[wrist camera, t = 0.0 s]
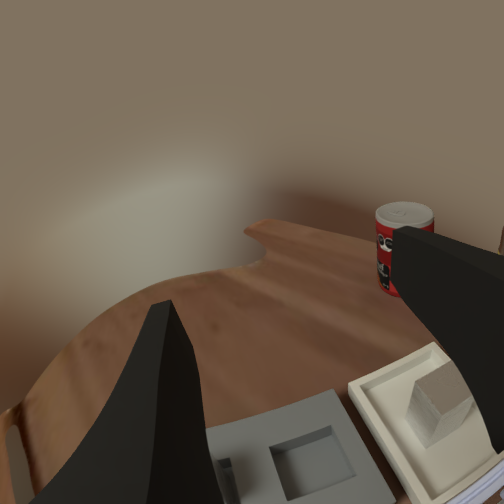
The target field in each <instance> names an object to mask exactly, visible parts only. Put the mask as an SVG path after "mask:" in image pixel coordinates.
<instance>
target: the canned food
mask: <svg viewBox="0 0 504 504" xmlns="http://www.w3.org/2000/svg"><path fill="white" fill-rule="evenodd" d="M406 225H407V226H412V227H416V228H420V229H423V230H426V231H430V232H433V233H434V213H433V211H432V210H431V209H430V208H429V207H427V206H425V205H422V204H418V203H414V202H394V203H389V204H386V205H383V206H381V207H379V208H378V209H377V211H376V238H377V273H378V282H379V285H380V287H381V288H382V290H383V291H385V292H386V293H388V294H390V295H392V296H396V297H401V296H400V295H399V294H398V292H397V291H396V289H395V287H394V286H393V284H392V283H391V281H390V268H391V252H392V230H394V229H397V228H400V227H403V226H406Z"/></svg>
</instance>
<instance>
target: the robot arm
mask: <svg viewBox="0 0 504 504" xmlns="http://www.w3.org/2000/svg"><path fill="white" fill-rule="evenodd" d="M390 281H391V283H392V284H393V286H394V287H395V289H396V291H397V292H398V294H399V295H400V296H401V298H402V299H403V301H404V302H405V303H406V305H407V306H408V307H409V308H410V309H411V310H412V311H413V313H414V314H415V315H416V316H417V317H418V318H419V320H420V321H421V322H422V323H423V324H424V325H425V326H426V328H427V329H428V330H429V331H430V332H431V333H432V334H433V336H434V337H435V338H436V339H437V340H438V341H439V343H440V344H441V345H442V346H443V348H444V349H445V350H446V352H447V353H448V354H449V356H450V357H451V359H452V360H453V362H454V364H455V365H456V367H457V368H458V370H459V372H460V373H461V375H462V377H463V379H464V380H465V382H466V384H467V386H468V388H469V390H470V392H471V393H472V395H473V398H474V400H475V402H476V404H477V406H478V409H479V411H480V413H481V415H482V418H483V421H484V423H485V426H486V429H487V432H488V435H489V438H490V441H491V445H492V447H493V449H494V450H495V452H496V453H497V454H498V455H499V454H500V453H501V452H502V451H503V450H504V256H503V255H500V254H496V253H493V252H490V251H486V250H483V249H480V248H477V247H474V246H471V245H468V244H465V243H462V242H459V241H456V240H453V239H451V238H448V237H445V236H442V235H439V234H436V233H433V232H430V231H426V230H423V229H420V228H416V227H412V226H407V225H406V226H403V227H400V228H397V229H394V230H392V252H391V268H390ZM503 485H504V459H503V460H502V461H501V462H499V463H498V464H497V465H496V466H495V467H494V468H492V469H491V470H490V471H489V472H487V473H486V474H485V475H484V476H483V477H481V478H480V479H479V480H477V481H476V482H475V483H473V484H472V485H471V486H470V487H468V488H467V489H465V490H464V491H463V492H461V493H460V494H458V495H457V496H456V497H454V498H453V499H451V500H450V501H448V502H447V503H445V504H482V503H483V502H484V501H485V500H487V499H488V498H489V497H490V496H492V495H493V494H494V493H495V492H496V491H498V490H499V489H500V488H501V487H502V486H503ZM500 496H501V498H502V500H501V501H500V502H499V503H497V504H504V489H503V490H502V491H501V493H500ZM29 504H225V503H224V500H223V497H222V494H221V491H220V488H219V484H218V481H217V478H216V474H215V470H214V467H213V463H212V459H211V456H210V452H209V447H208V441H207V435H206V428H205V420H204V411H203V403H202V394H201V386H200V377H199V372H198V367H197V362H196V358H195V354H194V349H193V346H192V344H191V342H190V339H189V337H188V335H187V333H186V331H185V329H184V327H183V325H182V323H181V320H180V318H179V316H178V314H177V312H176V310H175V307H174V305H173V303H172V301H171V300H167V301H164V302H160V303H157V304H153V305H151V307H150V309H149V311H148V314H147V316H146V318H145V321H144V323H143V326H142V328H141V330H140V333H139V335H138V337H137V340H136V342H135V344H134V347H133V349H132V351H131V354H130V356H129V358H128V360H127V363H126V365H125V367H124V369H123V371H122V373H121V375H120V377H119V379H118V381H117V383H116V385H115V387H114V389H113V391H112V393H111V395H110V397H109V399H108V401H107V402H106V404H105V406H104V408H103V409H102V411H101V413H100V414H99V416H98V418H97V419H96V421H95V423H94V424H93V426H92V427H91V428H90V430H89V431H88V433H87V434H86V436H85V437H84V439H83V440H82V442H81V443H80V444H79V446H78V447H77V449H76V450H75V452H74V453H73V454H72V456H71V457H70V458H69V459H68V461H67V462H66V463H65V464H64V466H63V467H62V468H61V469H60V470H59V472H58V473H57V474H56V475H55V476H54V478H53V479H52V480H51V481H50V482H49V483H48V484H47V485H46V486H45V487H44V488H43V490H42V491H41V492H40V493H39V494H38V495H37V496H36V497H35V498H34V499H33V500H32V501H31V502H30V503H29Z"/></svg>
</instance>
